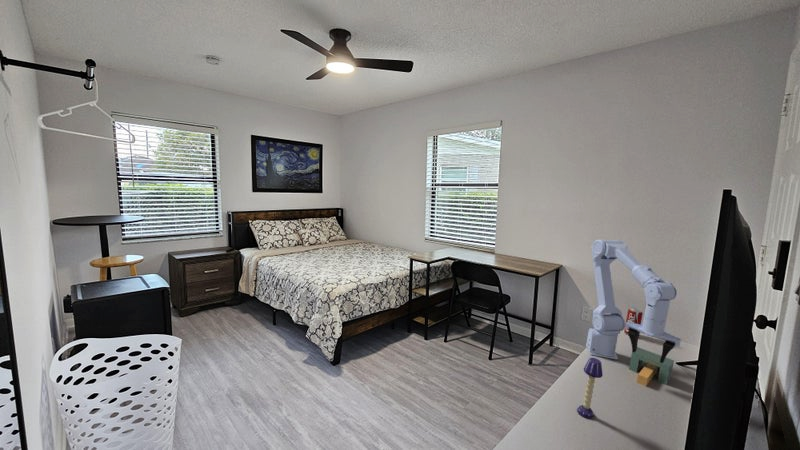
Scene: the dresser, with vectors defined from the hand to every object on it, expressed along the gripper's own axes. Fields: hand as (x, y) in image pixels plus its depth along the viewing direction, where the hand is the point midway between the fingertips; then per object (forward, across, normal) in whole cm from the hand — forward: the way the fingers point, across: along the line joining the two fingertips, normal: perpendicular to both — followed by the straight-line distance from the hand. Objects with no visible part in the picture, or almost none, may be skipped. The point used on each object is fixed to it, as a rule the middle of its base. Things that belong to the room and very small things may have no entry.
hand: (647, 356), depth 112 cm
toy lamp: (+10, -6, -32) cm, 34 cm away
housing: (+9, 0, +8) cm, 12 cm away
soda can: (+10, -13, +37) cm, 40 cm away
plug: (+10, 0, +8) cm, 12 cm away
